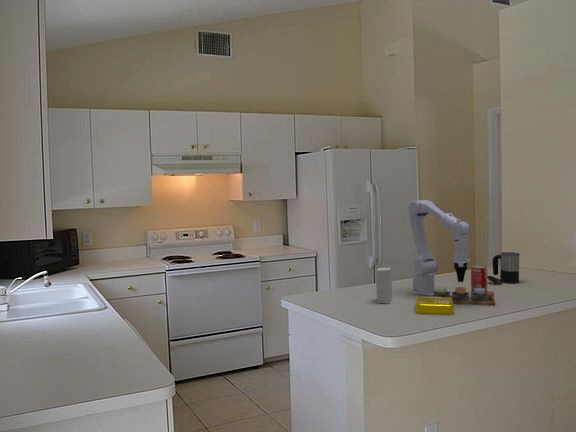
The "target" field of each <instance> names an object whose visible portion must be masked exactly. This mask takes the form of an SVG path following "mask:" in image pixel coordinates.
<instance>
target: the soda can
mask: <svg viewBox="0 0 576 432" xmlns="http://www.w3.org/2000/svg"><path fill="white" fill-rule="evenodd" d="M487 277H488V269H487V266H486V265H472V266H471V269H470V278H471V279H470V293H471V292H474V288H484V289H485V293H488V278H487Z"/></svg>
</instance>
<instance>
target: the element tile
mask: <svg viewBox="0 0 576 432" xmlns="http://www.w3.org/2000/svg"><path fill="white" fill-rule="evenodd" d="M415 313H416V314H418V315H419V314H420V315H436V314H437V315H442V316H452V315H455V304H453V299H452V298H450V297H428V296H421V295H420V296H416V297H415Z"/></svg>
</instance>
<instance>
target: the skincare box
mask: <svg viewBox="0 0 576 432" xmlns="http://www.w3.org/2000/svg"><path fill="white" fill-rule="evenodd" d="M375 278H376V281H375V282H376V283H375V284H376V303H378V304H387V305H389V304H391V301H392V300H393V289H392V288H393V285H392V282H393V281H392V268H391V267H378V268H377V269H376V270H375Z"/></svg>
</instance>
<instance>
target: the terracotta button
mask: <svg viewBox="0 0 576 432" xmlns="http://www.w3.org/2000/svg"><path fill="white" fill-rule="evenodd" d="M454 290H455V291H454V292H455V295H466V292H467V289H466V287H463V286H457V287H455V288H454Z"/></svg>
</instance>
